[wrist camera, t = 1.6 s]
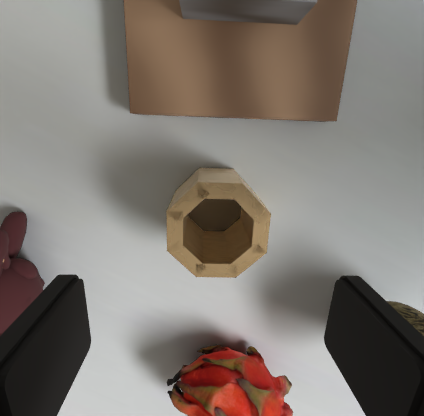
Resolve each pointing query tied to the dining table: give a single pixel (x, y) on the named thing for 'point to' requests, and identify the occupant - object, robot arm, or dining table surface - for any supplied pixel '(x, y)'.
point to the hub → (217, 240)
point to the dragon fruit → (229, 385)
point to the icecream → (15, 271)
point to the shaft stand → (238, 57)
